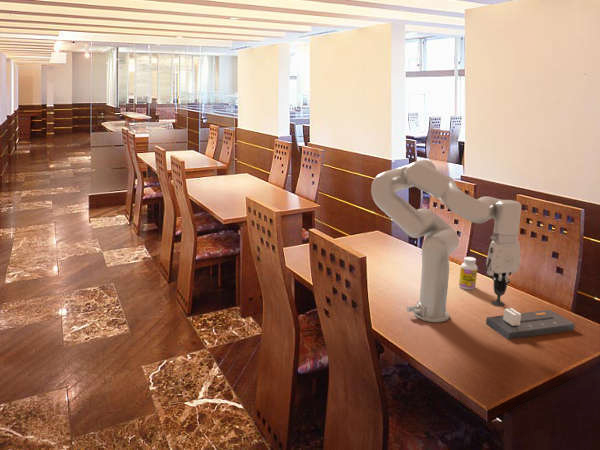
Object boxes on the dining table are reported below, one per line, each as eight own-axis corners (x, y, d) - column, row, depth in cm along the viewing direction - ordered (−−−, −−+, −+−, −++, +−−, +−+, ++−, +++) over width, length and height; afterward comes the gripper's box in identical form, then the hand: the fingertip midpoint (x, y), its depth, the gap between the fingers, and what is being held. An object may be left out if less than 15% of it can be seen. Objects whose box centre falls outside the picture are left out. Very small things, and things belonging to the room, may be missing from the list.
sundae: (508, 308, 190) (513, 271, 186) (490, 306, 191) (494, 269, 187) (505, 301, 196) (510, 265, 192) (487, 299, 197) (492, 264, 193)
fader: (512, 325, 169) (513, 314, 168) (502, 319, 173) (504, 308, 172) (519, 324, 169) (521, 313, 168) (510, 318, 174) (511, 307, 173)
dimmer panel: (508, 339, 165) (509, 332, 164) (486, 323, 176) (486, 317, 176) (574, 330, 172) (575, 323, 172) (548, 315, 183) (549, 309, 183)
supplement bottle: (459, 289, 207) (462, 260, 204) (457, 283, 213) (460, 255, 210) (476, 290, 206) (479, 261, 203) (473, 284, 212) (476, 256, 209)
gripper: (492, 242, 156) (487, 296, 161) (532, 239, 160) (525, 292, 165) (478, 236, 163) (473, 288, 168) (516, 233, 167) (510, 284, 172)
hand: (499, 290), depth 166 cm, fingers closed
